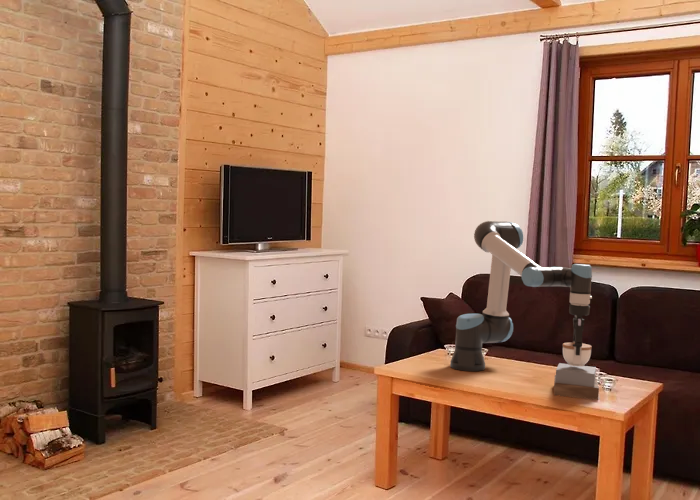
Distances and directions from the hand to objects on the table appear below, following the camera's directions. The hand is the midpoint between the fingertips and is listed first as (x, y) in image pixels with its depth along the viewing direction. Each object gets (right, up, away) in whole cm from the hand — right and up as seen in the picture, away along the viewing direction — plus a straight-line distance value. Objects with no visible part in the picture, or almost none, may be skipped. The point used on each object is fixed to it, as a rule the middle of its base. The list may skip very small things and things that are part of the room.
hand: (576, 360), depth 286 cm
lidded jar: (0, -2, 0) cm, 2 cm away
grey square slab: (0, -8, 0) cm, 8 cm away
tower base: (0, -13, 0) cm, 13 cm away
